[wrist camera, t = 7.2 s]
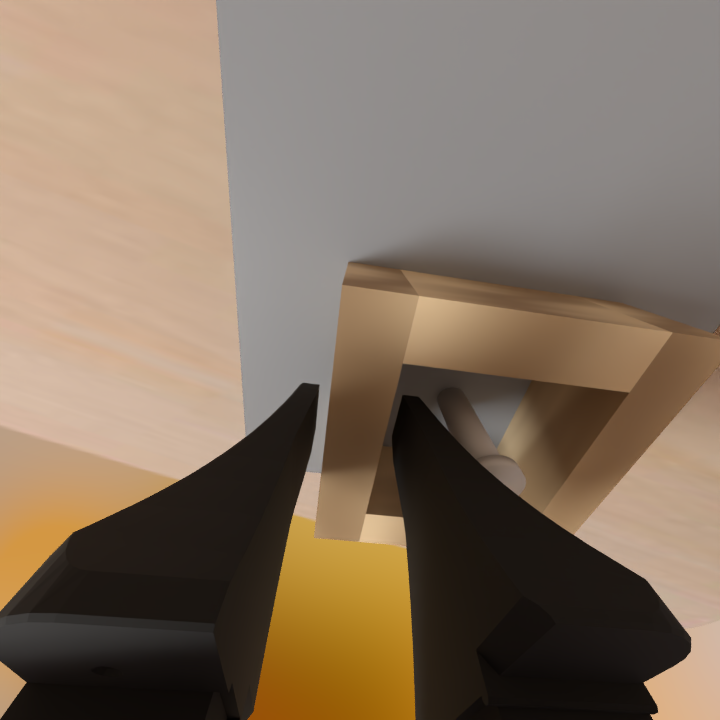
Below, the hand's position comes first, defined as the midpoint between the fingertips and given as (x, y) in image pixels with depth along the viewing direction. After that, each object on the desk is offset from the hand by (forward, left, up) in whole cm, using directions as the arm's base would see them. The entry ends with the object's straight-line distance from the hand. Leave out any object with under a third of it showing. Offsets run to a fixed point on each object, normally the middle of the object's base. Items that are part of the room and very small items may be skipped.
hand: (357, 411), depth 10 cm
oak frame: (-4, 0, -2) cm, 4 cm away
